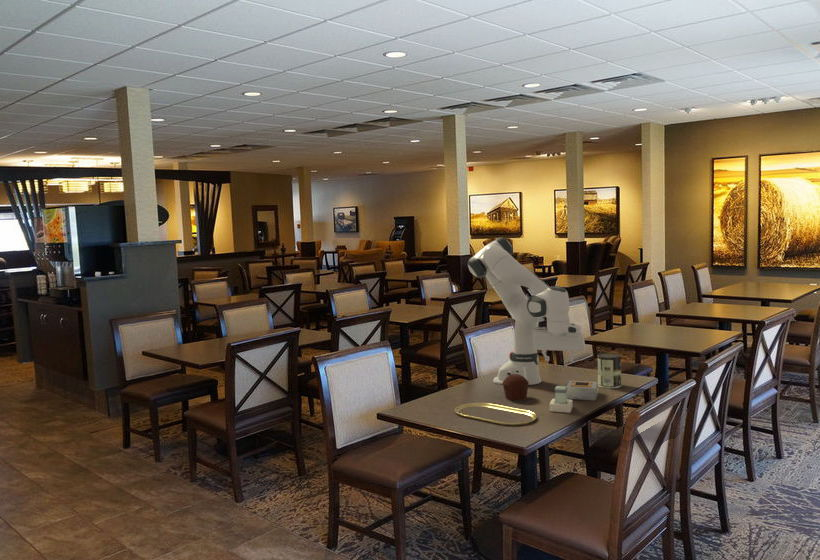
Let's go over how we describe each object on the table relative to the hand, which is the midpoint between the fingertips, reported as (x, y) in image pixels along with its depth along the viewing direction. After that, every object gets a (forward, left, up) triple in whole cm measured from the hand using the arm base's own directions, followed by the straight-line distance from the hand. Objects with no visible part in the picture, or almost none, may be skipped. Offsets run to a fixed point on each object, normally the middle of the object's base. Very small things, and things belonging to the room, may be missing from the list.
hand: (559, 361), depth 257 cm
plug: (0, 0, -20) cm, 20 cm away
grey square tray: (0, 0, -20) cm, 20 cm away
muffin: (-21, +13, -20) cm, 31 cm away
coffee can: (+16, +42, -20) cm, 49 cm away
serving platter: (-24, -14, -20) cm, 34 cm away
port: (+6, +22, -20) cm, 30 cm away
